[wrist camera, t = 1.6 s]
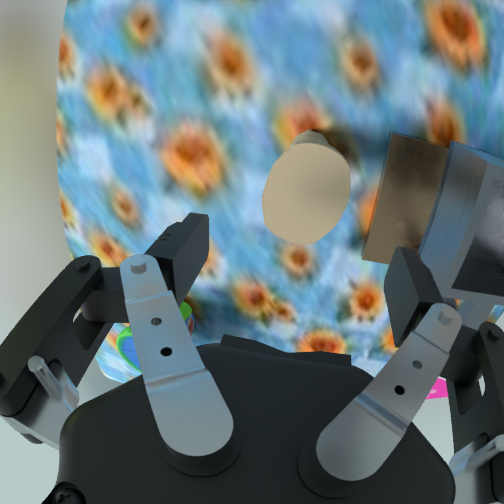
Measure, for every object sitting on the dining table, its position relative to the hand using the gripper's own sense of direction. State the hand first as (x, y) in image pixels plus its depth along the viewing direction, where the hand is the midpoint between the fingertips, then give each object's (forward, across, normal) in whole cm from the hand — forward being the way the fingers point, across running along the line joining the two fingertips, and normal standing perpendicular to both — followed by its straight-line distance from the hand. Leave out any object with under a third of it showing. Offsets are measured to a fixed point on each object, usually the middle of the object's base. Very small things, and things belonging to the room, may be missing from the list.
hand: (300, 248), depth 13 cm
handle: (+21, 0, 0) cm, 21 cm away
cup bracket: (+21, -15, +4) cm, 26 cm away
